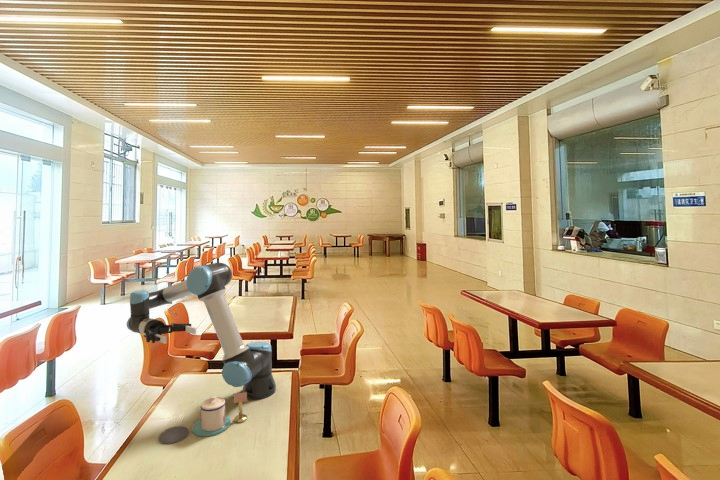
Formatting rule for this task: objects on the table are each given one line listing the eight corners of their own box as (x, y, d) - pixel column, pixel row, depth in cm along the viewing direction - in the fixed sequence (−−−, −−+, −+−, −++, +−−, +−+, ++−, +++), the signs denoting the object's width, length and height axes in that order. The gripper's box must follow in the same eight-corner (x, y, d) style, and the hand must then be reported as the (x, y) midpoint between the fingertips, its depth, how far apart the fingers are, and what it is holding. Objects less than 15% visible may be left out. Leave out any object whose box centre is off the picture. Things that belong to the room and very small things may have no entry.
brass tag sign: (247, 415, 151) (246, 389, 150) (247, 421, 146) (247, 394, 146) (234, 417, 149) (233, 391, 149) (234, 424, 145) (233, 396, 144)
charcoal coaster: (190, 426, 143) (190, 424, 143) (187, 440, 134) (187, 438, 134) (161, 431, 140) (161, 429, 140) (156, 446, 131) (156, 444, 131)
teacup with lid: (229, 426, 142) (228, 397, 141) (205, 435, 136) (204, 405, 135) (218, 413, 151) (218, 386, 150) (195, 421, 145) (194, 393, 144)
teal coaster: (230, 413, 152) (230, 411, 152) (230, 432, 139) (230, 430, 139) (193, 420, 147) (193, 418, 147) (190, 440, 134) (190, 438, 134)
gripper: (178, 328, 176) (206, 335, 165) (123, 344, 155) (152, 353, 144) (177, 313, 176) (206, 319, 165) (122, 326, 154) (151, 335, 143)
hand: (181, 335), depth 154 cm, fingers open, 13 cm apart
